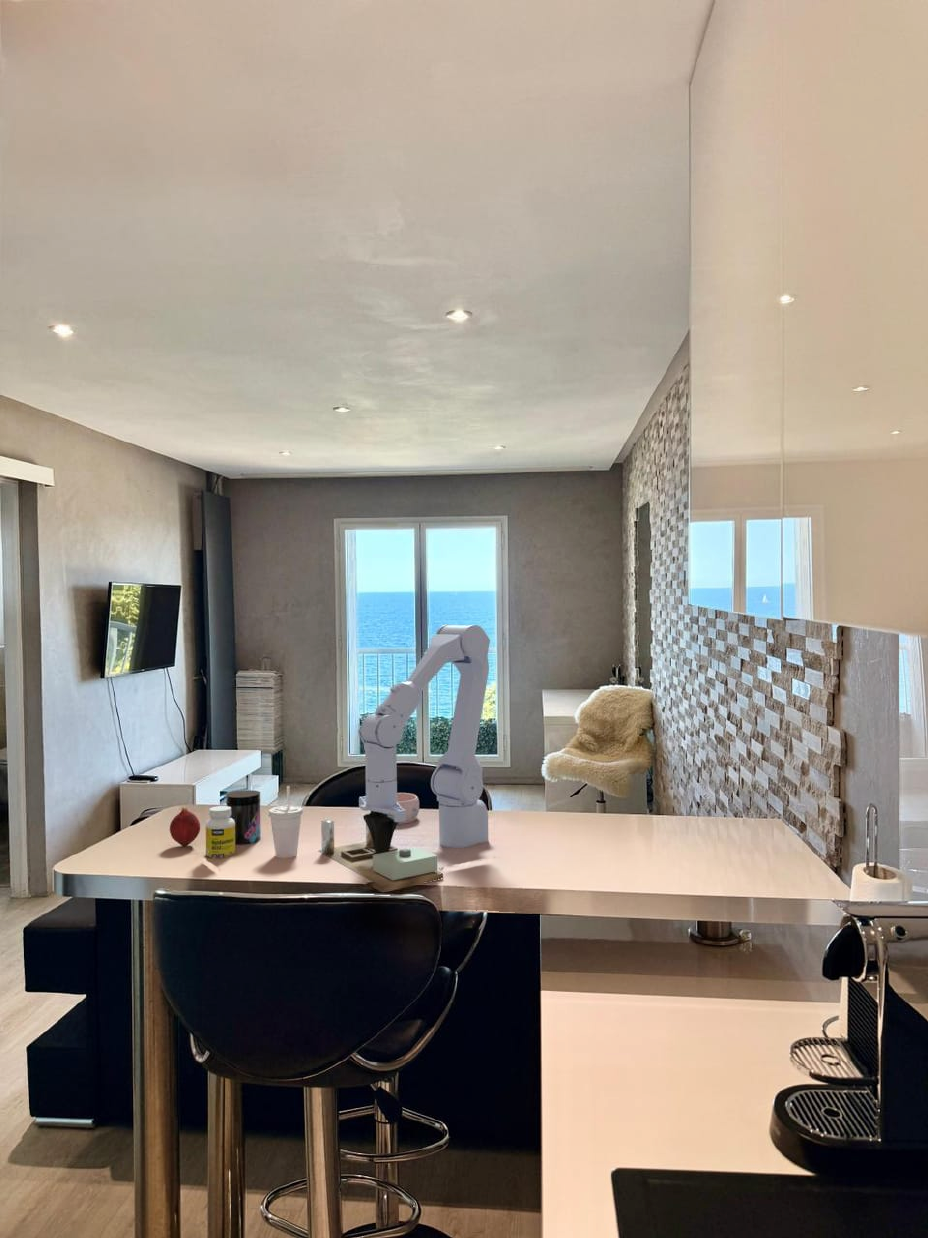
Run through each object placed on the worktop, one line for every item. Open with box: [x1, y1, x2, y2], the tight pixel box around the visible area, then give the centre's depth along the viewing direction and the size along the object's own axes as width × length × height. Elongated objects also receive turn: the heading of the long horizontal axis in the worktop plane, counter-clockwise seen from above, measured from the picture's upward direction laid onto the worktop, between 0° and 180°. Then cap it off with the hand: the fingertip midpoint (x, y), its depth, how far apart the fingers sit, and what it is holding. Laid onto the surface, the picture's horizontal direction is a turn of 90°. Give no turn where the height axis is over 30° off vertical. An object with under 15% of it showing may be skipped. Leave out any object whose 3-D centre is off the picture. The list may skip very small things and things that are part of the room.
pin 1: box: [320, 819, 335, 855], centre depth 160 cm, size 2×2×6 cm
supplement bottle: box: [205, 805, 236, 863], centre depth 160 cm, size 5×5×10 cm
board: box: [318, 841, 444, 893], centre depth 154 cm, size 12×26×2 cm, turn 34°
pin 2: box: [365, 812, 373, 846], centre depth 166 cm, size 2×2×6 cm
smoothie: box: [268, 785, 304, 859], centre depth 159 cm, size 6×6×14 cm
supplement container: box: [225, 789, 262, 846], centre depth 170 cm, size 7×7×10 cm
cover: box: [373, 846, 438, 880], centre depth 148 cm, size 9×7×4 cm
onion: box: [169, 806, 201, 848], centre depth 169 cm, size 6×6×8 cm
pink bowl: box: [397, 792, 420, 825], centre depth 187 cm, size 12×10×6 cm
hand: (382, 853), depth 155 cm, fingers closed
